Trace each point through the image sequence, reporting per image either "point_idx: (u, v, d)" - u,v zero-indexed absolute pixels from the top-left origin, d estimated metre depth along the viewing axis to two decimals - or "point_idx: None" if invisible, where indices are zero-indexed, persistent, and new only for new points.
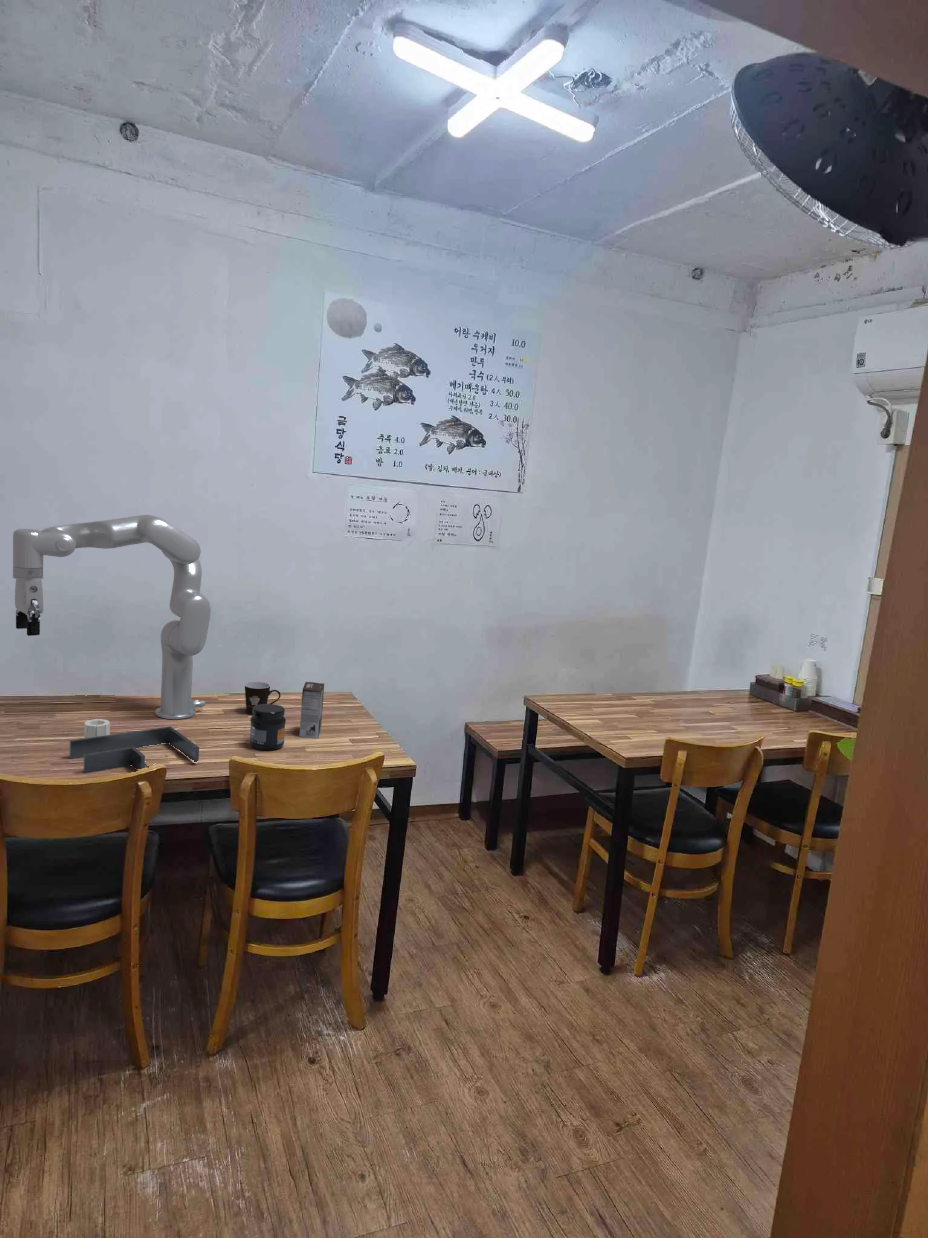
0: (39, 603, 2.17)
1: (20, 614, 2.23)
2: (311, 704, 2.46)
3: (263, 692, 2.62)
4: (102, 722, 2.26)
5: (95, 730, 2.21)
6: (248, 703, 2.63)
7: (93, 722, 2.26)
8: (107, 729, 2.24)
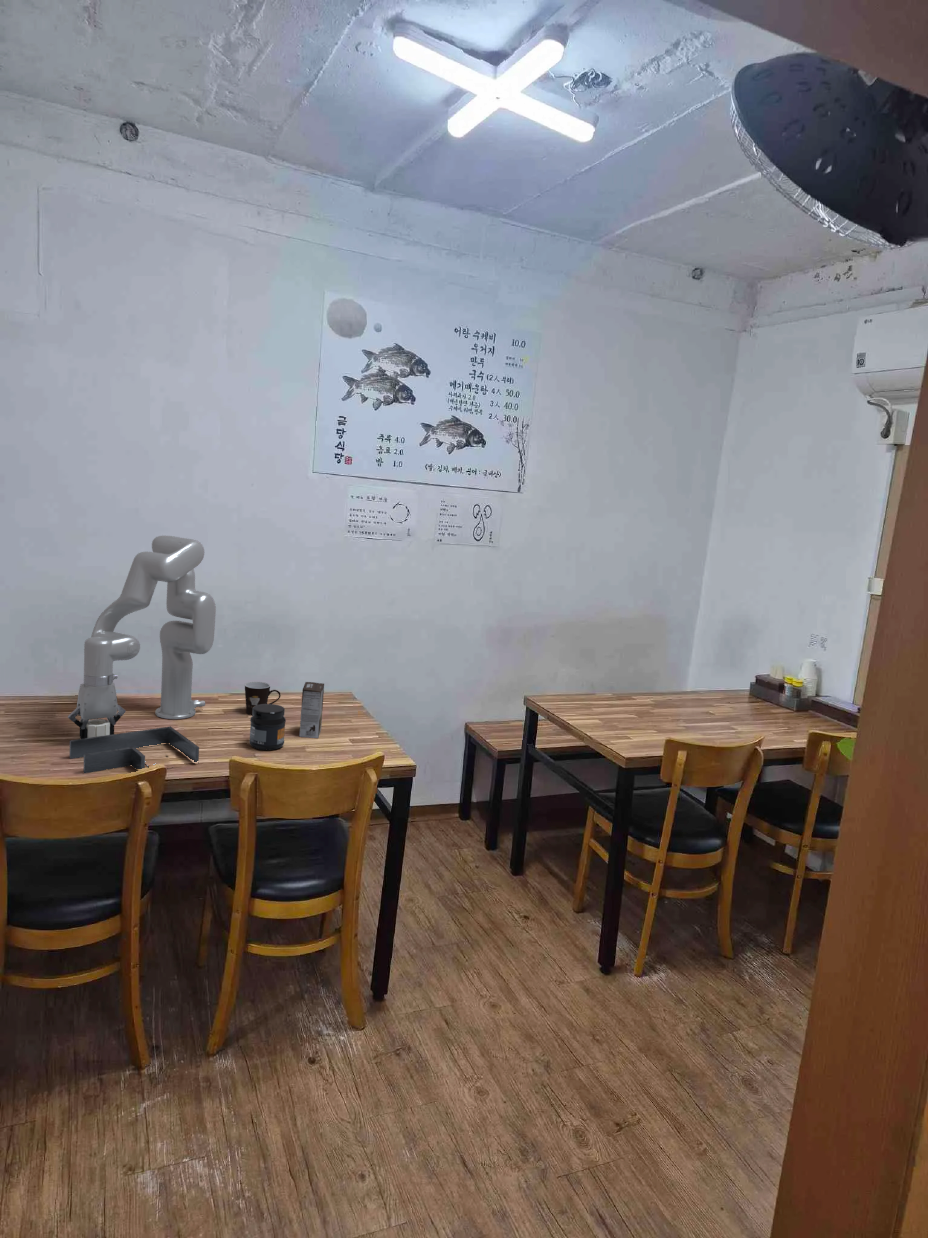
0: None
1: (85, 726, 2.22)
2: (311, 704, 2.46)
3: (263, 692, 2.62)
4: (102, 722, 2.26)
5: (95, 730, 2.21)
6: (248, 703, 2.63)
7: (93, 722, 2.26)
8: (107, 729, 2.24)
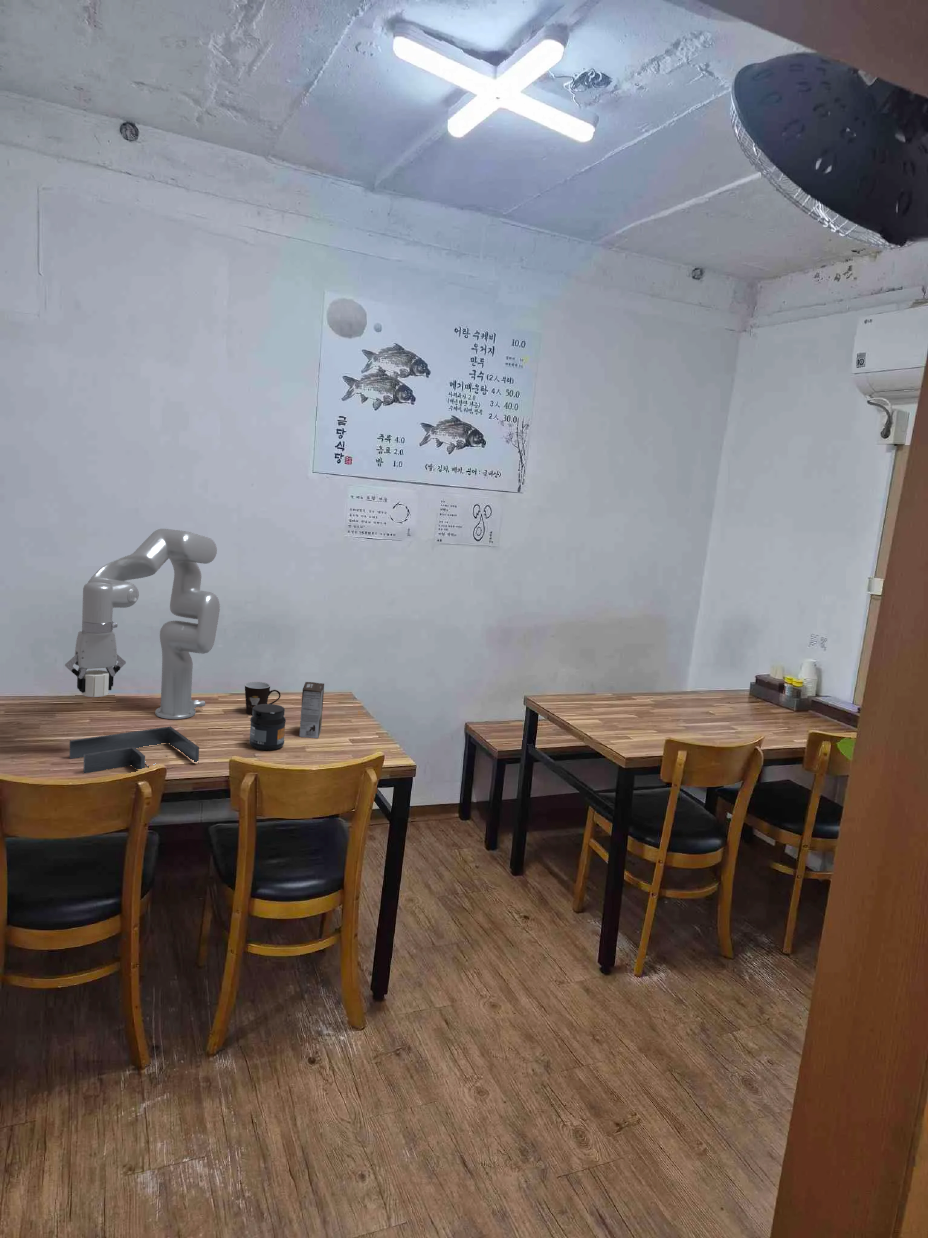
0: None
1: (83, 676, 2.12)
2: (311, 704, 2.46)
3: (263, 692, 2.62)
4: (101, 673, 2.16)
5: (93, 680, 2.11)
6: (248, 703, 2.63)
7: (92, 673, 2.16)
8: (106, 680, 2.14)
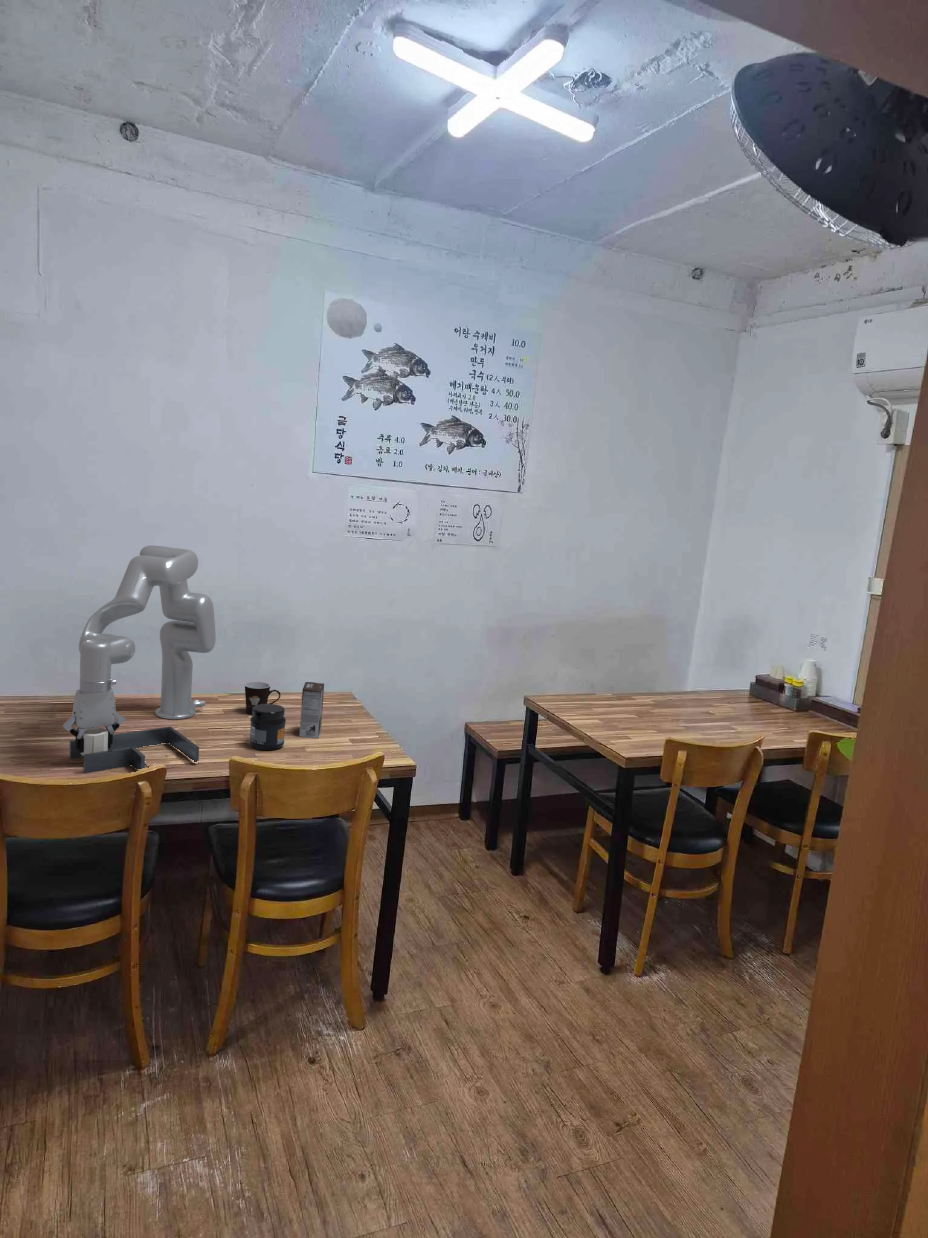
0: None
1: None
2: (311, 704, 2.46)
3: (263, 692, 2.62)
4: (100, 731, 2.11)
5: (92, 740, 2.06)
6: (248, 703, 2.63)
7: (90, 731, 2.10)
8: (105, 739, 2.09)
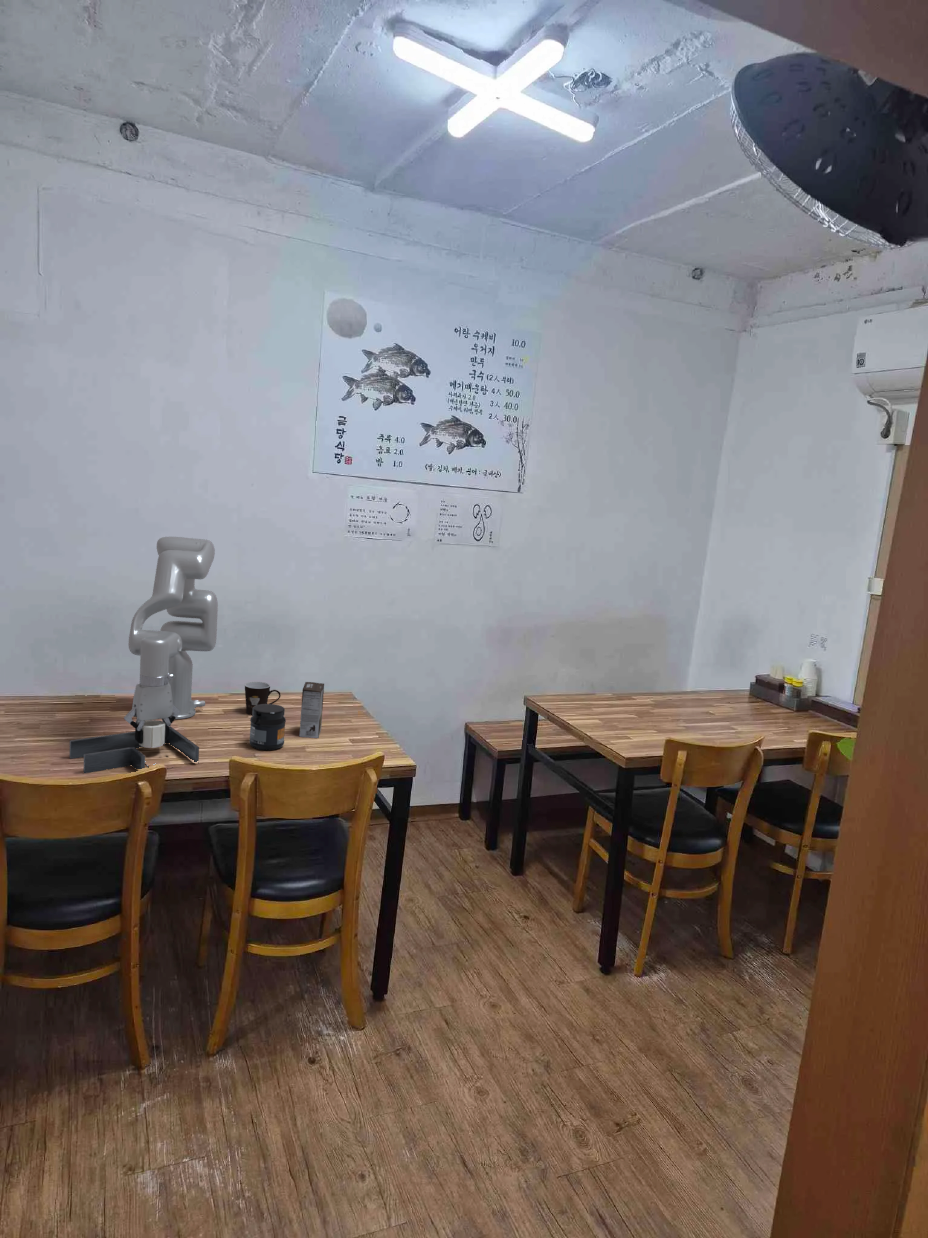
0: None
1: None
2: (311, 704, 2.46)
3: (263, 692, 2.62)
4: (157, 723, 2.22)
5: (151, 731, 2.17)
6: (248, 703, 2.63)
7: (148, 723, 2.21)
8: (163, 730, 2.19)
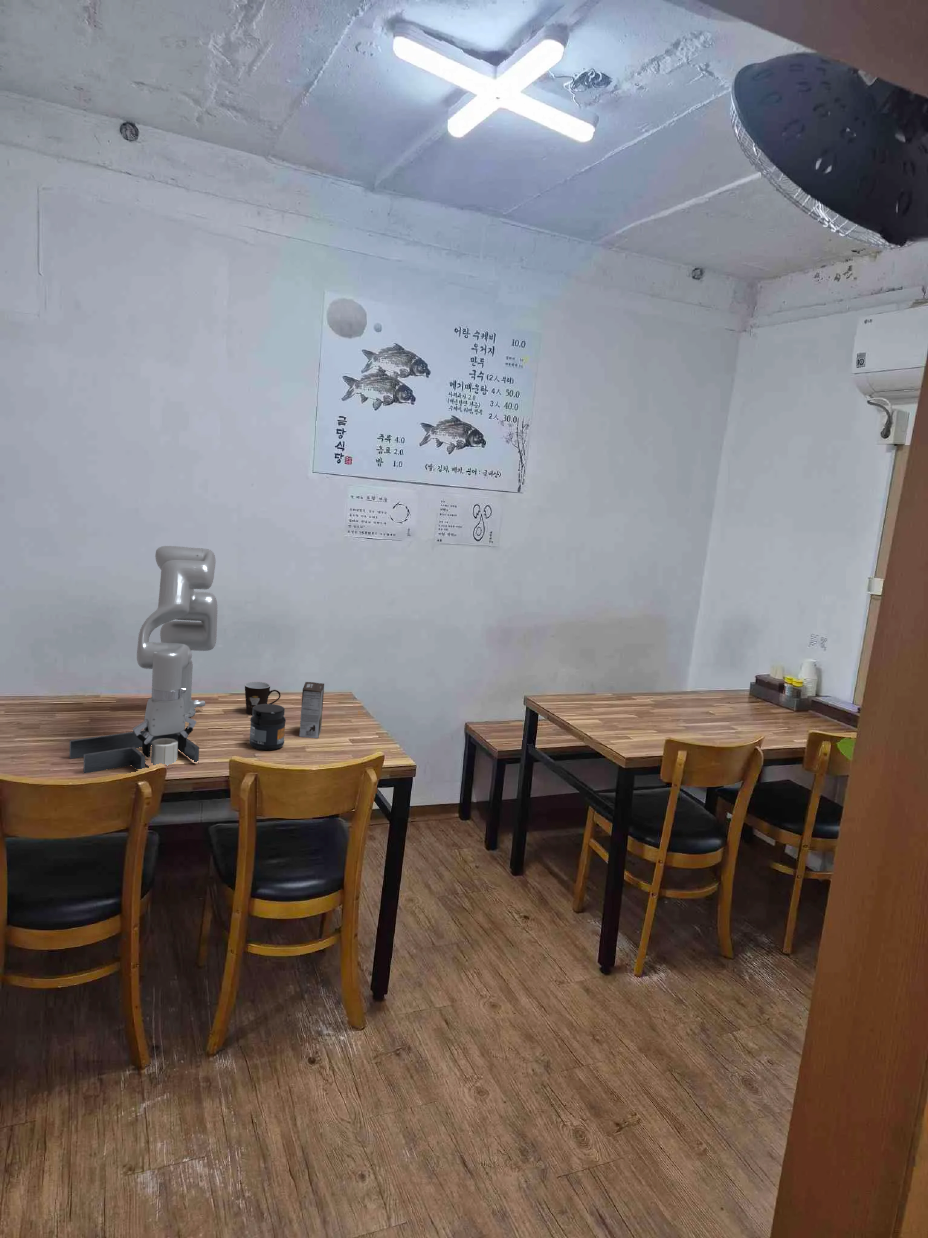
0: None
1: None
2: (311, 704, 2.46)
3: (263, 692, 2.62)
4: (169, 741, 2.16)
5: (163, 750, 2.11)
6: (248, 703, 2.63)
7: (160, 742, 2.15)
8: (175, 749, 2.14)
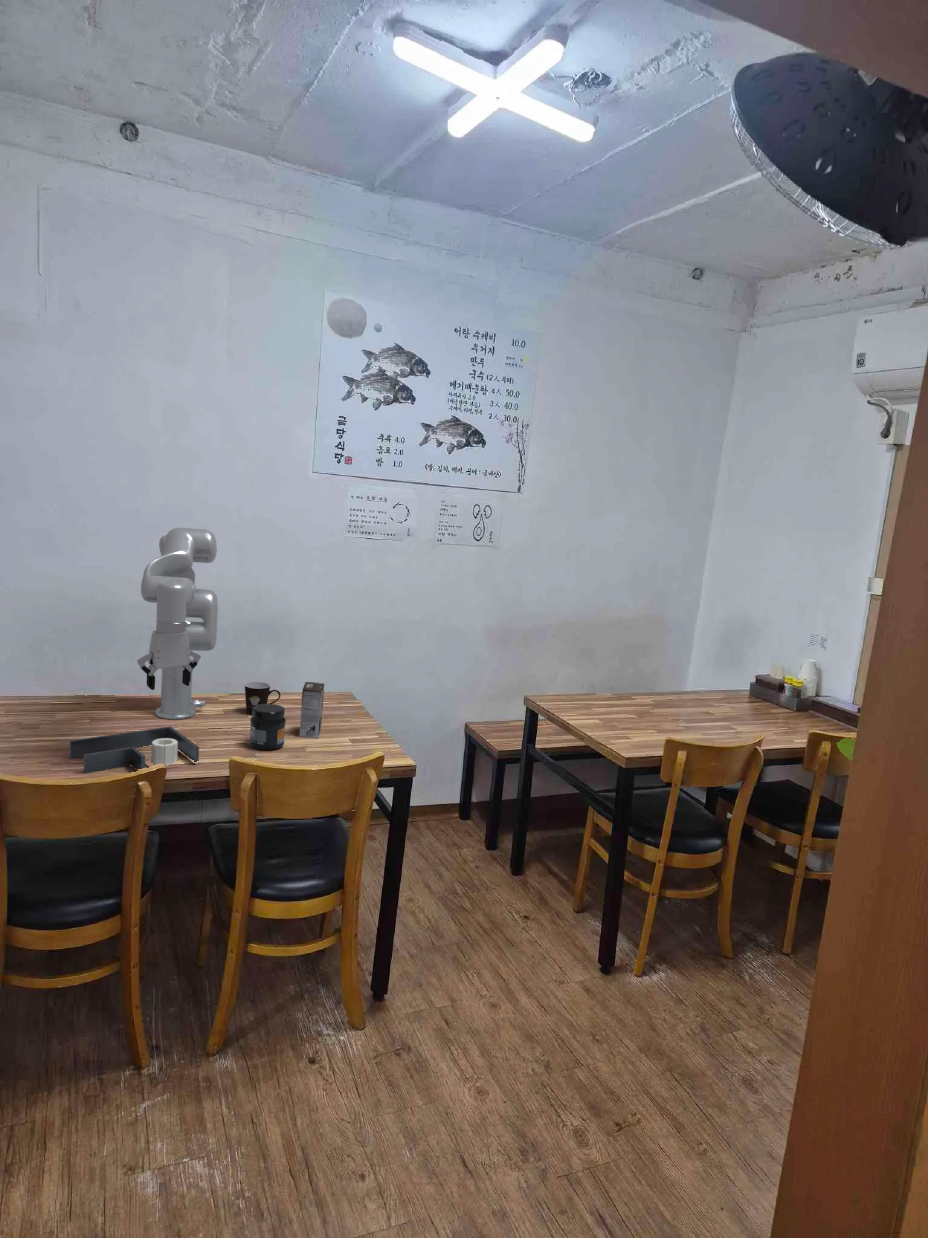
0: None
1: None
2: (311, 704, 2.46)
3: (263, 692, 2.62)
4: (169, 741, 2.16)
5: (163, 750, 2.11)
6: (248, 703, 2.63)
7: (160, 742, 2.15)
8: (175, 749, 2.14)
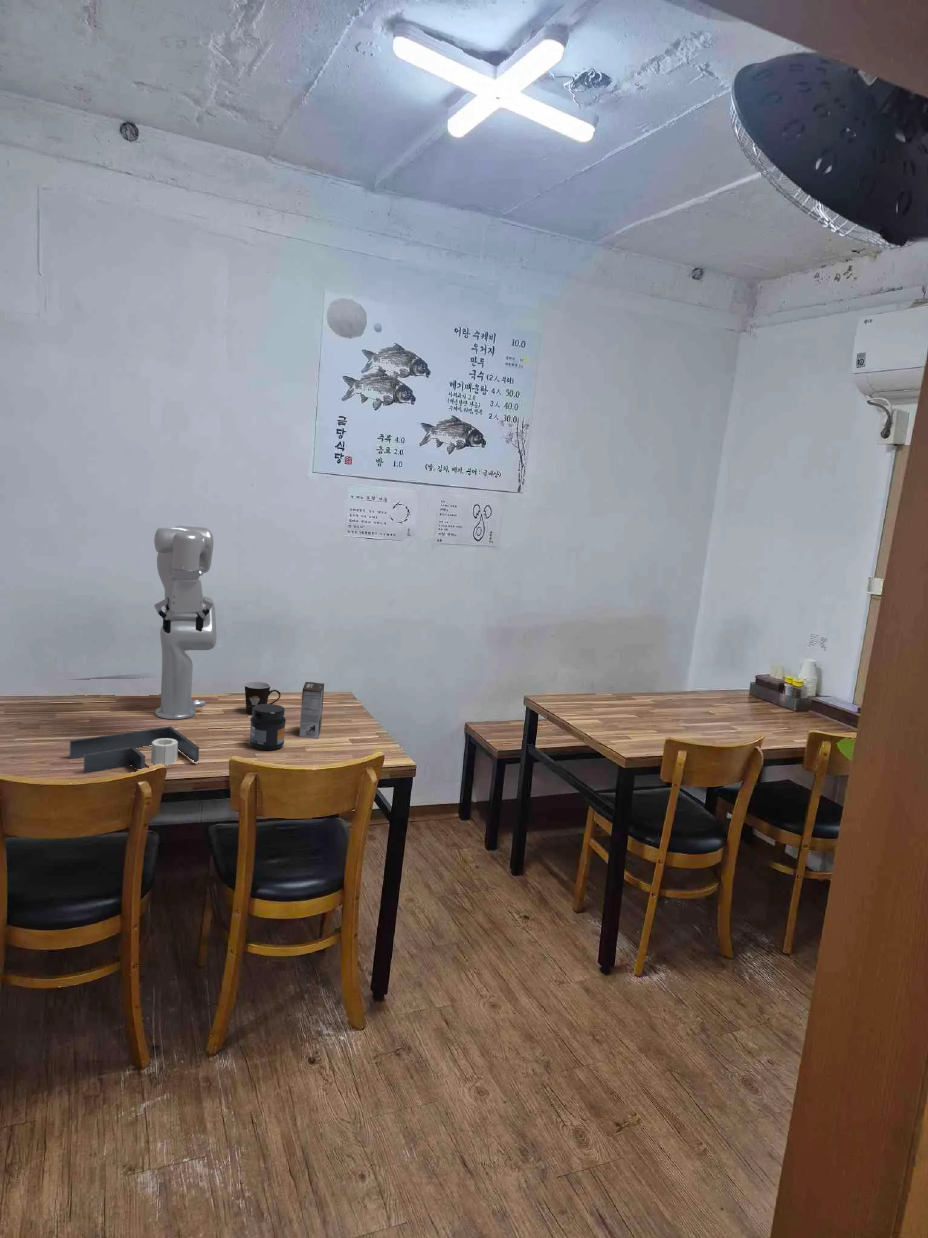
0: None
1: None
2: (311, 704, 2.46)
3: (263, 692, 2.62)
4: (169, 741, 2.16)
5: (163, 750, 2.11)
6: (248, 703, 2.63)
7: (160, 742, 2.15)
8: (175, 749, 2.14)
